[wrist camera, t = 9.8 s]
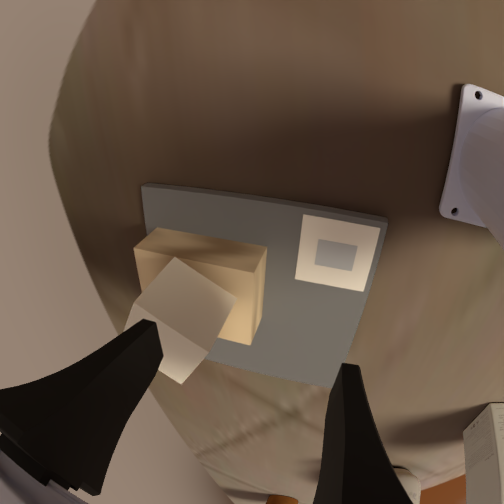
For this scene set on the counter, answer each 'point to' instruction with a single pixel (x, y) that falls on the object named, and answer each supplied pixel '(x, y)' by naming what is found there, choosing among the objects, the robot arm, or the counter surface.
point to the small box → (485, 456)
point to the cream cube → (183, 316)
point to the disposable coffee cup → (281, 500)
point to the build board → (285, 273)
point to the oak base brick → (212, 272)
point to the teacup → (409, 484)
